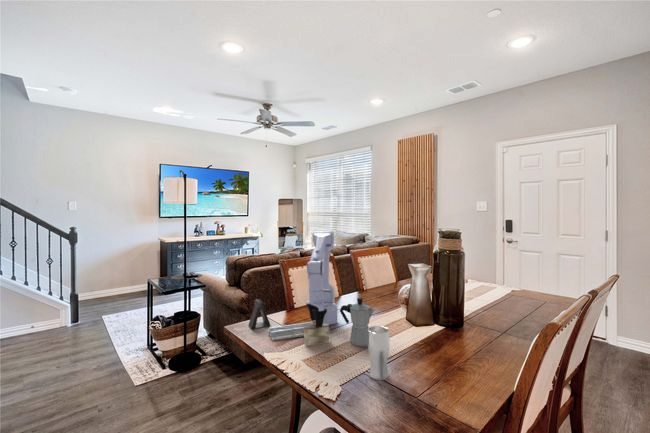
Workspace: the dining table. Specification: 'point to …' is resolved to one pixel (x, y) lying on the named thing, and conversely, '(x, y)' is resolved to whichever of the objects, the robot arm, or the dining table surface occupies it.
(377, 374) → the beer glass
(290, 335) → the track
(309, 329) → the door panel
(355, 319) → the coffee maker
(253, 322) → the phone stand
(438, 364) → the dining table surface
